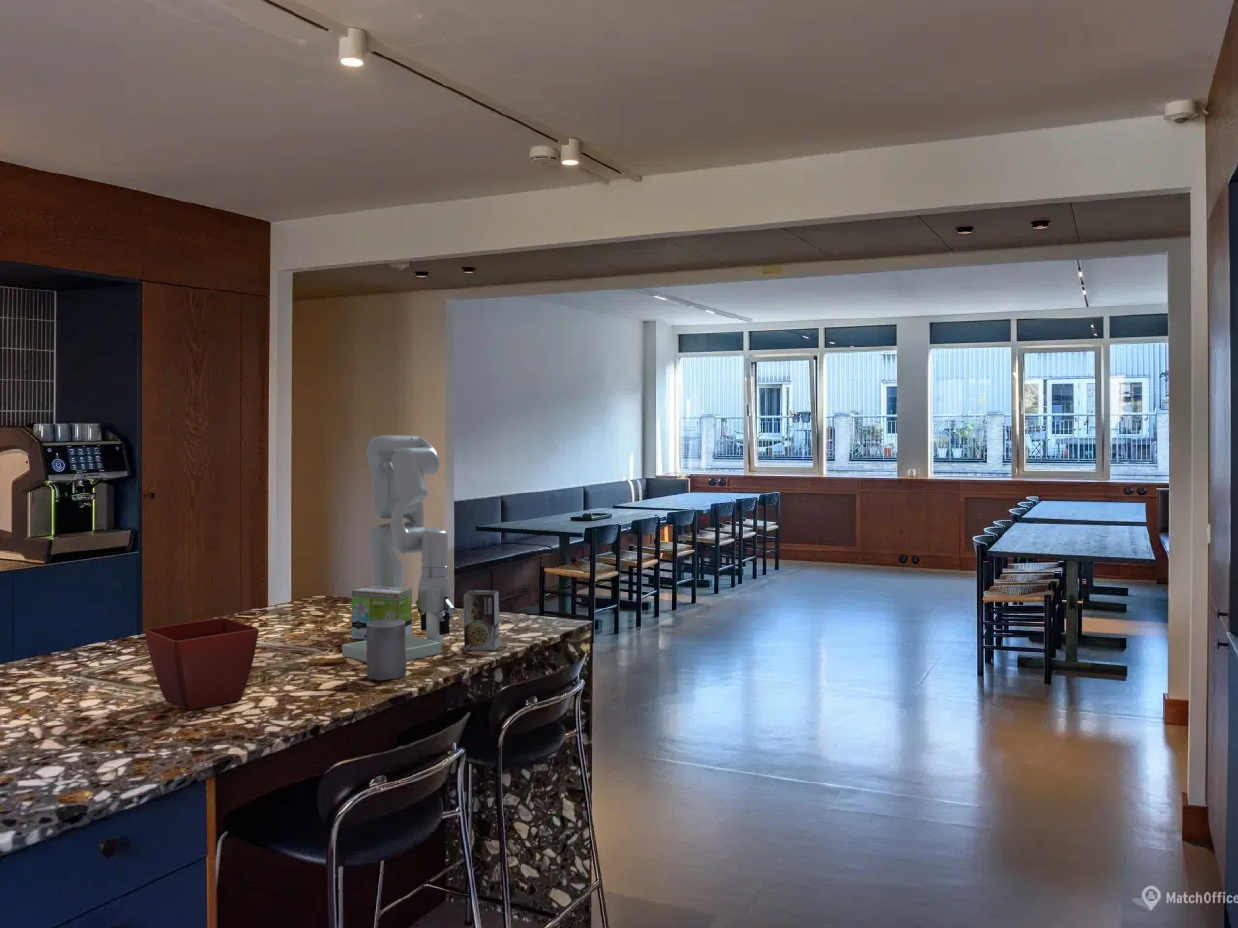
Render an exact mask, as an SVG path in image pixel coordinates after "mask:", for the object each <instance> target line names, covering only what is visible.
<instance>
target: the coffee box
mask: <svg viewBox="0 0 1238 928" xmlns="http://www.w3.org/2000/svg"><path fill="white" fill-rule="evenodd" d="M463 632H464V633H463V636H464V637H463V640H464V647H463V648H464V649H463V650H464V651H496V650H497V649H499V648H500V590H485V589H483V590H480V589H478V590H476V589H475V590H474V589H470V590H469V589H468V591H466V592H465V593H464V594H463Z"/></svg>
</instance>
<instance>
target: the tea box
mask: <svg viewBox="0 0 1238 928" xmlns="http://www.w3.org/2000/svg"><path fill="white" fill-rule="evenodd" d="M412 599H413V588H410V587H403V588H396V587H381V586H372V585H366V586H363V587H360V588H358V589H354V590H351V639H352V640H364V641H365V640H367V637H366V623H367V622H369V621H372V620H377V619H386V617H387V619H401V620H404V621H405V634H406V635H410V636H412V631H413V630H412V628H413V625H412V622H413V620H412V618H413V613H412V611H413V609H412V607H413V601H412Z"/></svg>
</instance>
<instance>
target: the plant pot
mask: <svg viewBox="0 0 1238 928" xmlns="http://www.w3.org/2000/svg"><path fill="white" fill-rule="evenodd" d="M144 635H145V640H146V645H147V651H148V653H149V657H150V662H151V665H152V668H153V671H154V676H155V677H156V680H157V684H158V686H159V689H160V691H161V693H162V696H163V698H164V700H165V701H166V702H168V703H169V704H171V705H174V706H176V707H177V708H179V709H181V710H183V711H193V710H198V709H203V708H208V707H214V706H218V705H224V704H228V703H233V702H235V703H236V702H238V701H241V700H242V698H243V695H244V693H245V689H246V686H247V683H248V679H249V677H250V674H251V672H252V671H251V669H252V666H253V662H254V658H255V655H256V654H255V653H256V648H257V642H258V636H259V627H256V626H253V625H251V624H250V625H249V624H246V623H243V622H240V621H237V620H233V619H230V618H227V617H220V618H213V619H205V620H198V621H189V622H183V623H176V624H170V625H168V624H167V625H163V626H162V625H161V626H156V627H148V628H145V629H144Z"/></svg>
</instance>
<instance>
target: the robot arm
mask: <svg viewBox="0 0 1238 928" xmlns="http://www.w3.org/2000/svg"><path fill="white" fill-rule="evenodd" d="M366 457H367V458H366V459H367V462H368V465H369V469H370V472H371V479H372V480H371V481H372V509H373V511H372V512H373V514H374V517H376V518H378V519H381V520H390V522H387V523H384V522H383V523H379V524H376V525H374V526H373V527H371V529H370V530H369V532H368V544H369V550H370V556H371V574H372V575H371V586H381V587H396V588H404V587H403V586H404V583H403V581H404V579H403V577H404V575H403V574H404V573H403V569H404V568H403V565H402V563H401V561H400V560H399V558H398V557H397V556H396V554H399V553H401V554H415V553H416V554H418V553H421V576H420V577H419V580H418V581H419V583H418V589H417V590H418V591H417V599H416V601H415V605H416V607H417V611H418V613H419V617H420V631H422V632H424V631H425V632H426V611H428V612H432V613H438V614H439V616H440V619H441V621H439V634H440V635H444V636H445V635H449V634H450V621H451V618H452V617H453V614H454V611H455V610H456V607H454V605H453V604H452V602H451V600H452V599H451V587H450V581H449V580H450V579H449V542H448V541H449V536H448V535H449V534H448V532H447V531H446V530H444V529H439V528H438V527H437V526H425V515H424V513H425V511H424V509H425V508H424V507H425V506H424V500H425V499H426V498H427V497H428V493H429V492H428V487H427V484H426V478H425V475H434V474H436V473H437V472H438V471H439V468H440V464H441V463H440V462H441V461H440V457H439V453H438V452H437V450H436V449H435V448H434V446H433V445H432V444H431V443H429V442H428V440H426V439H425V438H424V437H422V436H420V435H416V434H415V435H414V434H409V435H408V434H405V435H404V434H399V435H398V434H384V435H378V436H374V437H372V438H371V439H370V440H369V441H368V444H367V447H366ZM404 519H405V522H404ZM442 609H444V610H442ZM443 613H444V615H443Z"/></svg>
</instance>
